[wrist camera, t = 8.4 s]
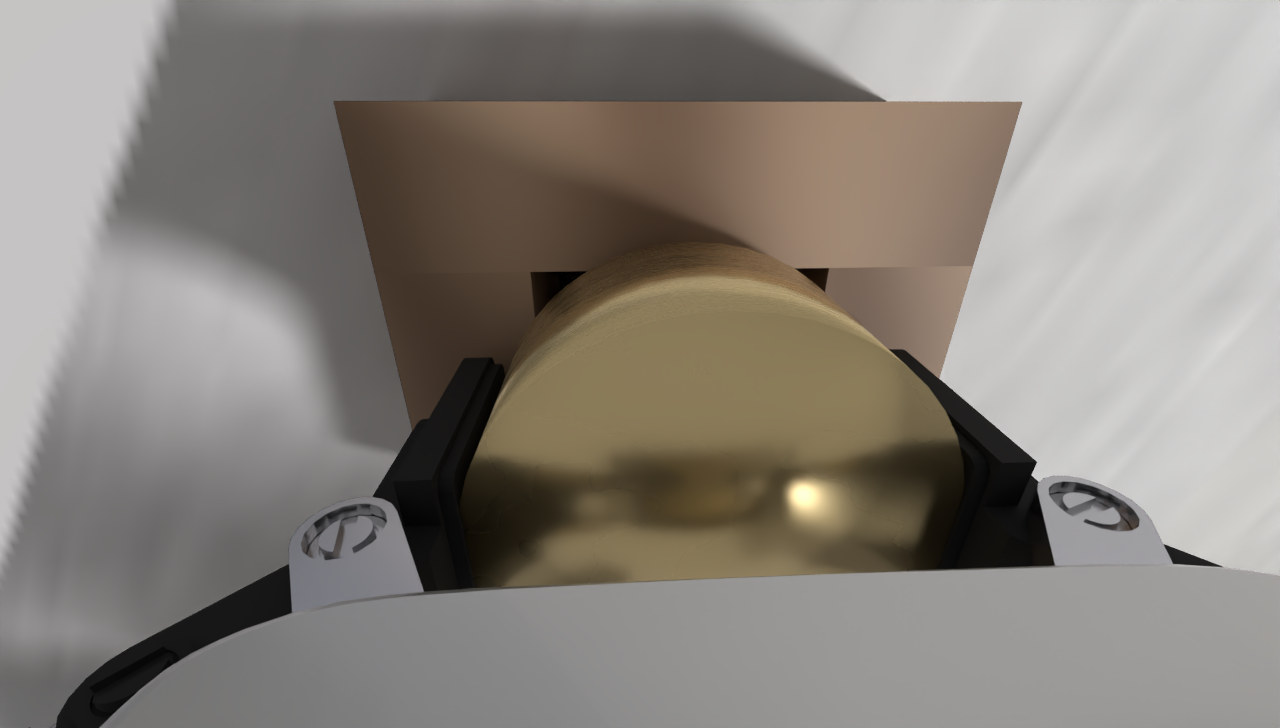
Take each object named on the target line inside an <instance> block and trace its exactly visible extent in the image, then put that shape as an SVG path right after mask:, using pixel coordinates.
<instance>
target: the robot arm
mask: <svg viewBox="0 0 1280 728" xmlns="http://www.w3.org/2000/svg"><path fill="white" fill-rule="evenodd" d="M889 350H890V351H891V352H892V353H893V354H894V355H895V356H896V357H898V358H899V359H900V360H901V361H902V362H903V363H904V364H905V365H907V366H908V367H909V368H910V369H911V370H912V371H913V372H914V373H915V374H916V375H917V376H918V377H919V378H920V379H921V380H922V381H923V382H924V383H925V384H926V385H927V386H928V387H929V388H930V390H931V391H932V393H933V394H934V395H935V397H936V398H937V400H938V401H939V402H940V404H941V405H942V407H943V408H944V409H945V411H946V413H947V415H948V417H949V419H950V422H951V424H952V426H953V428H954V430H955V433H956V435H957V438H958V442H959V446H960V450H961V454H962V458H963V463H964V479H965V491H964V497H963V500H962V502H961V505H960V508H959V511H958V513H957V516H956V519H955V522H954V524H953V527H952V530H951V533H950V535H949V538H948V541H947V544H946V546H945V549H944V552H943V555H942V557H941V560H940V563H939V566H938V568H937V570H913V571H887V572H861V573H834V574H808V575H782V576H756V577H730V578H705V579H679V580H653V581H629V582H606V583H583V584H560V585H538V586H515V587H492V588H475V584H474V579H473V574H472V569H471V565H470V560H469V555H468V550H467V545H466V540H465V535H464V531H463V526H462V521H461V516H460V511H459V506H460V499H461V495H462V491H463V486H464V482H465V478H466V475H467V472H468V470H469V467H470V464H471V462H472V459H473V457H474V454H475V452H476V449H477V447H478V444H479V442H480V439H481V437H482V434H483V432H484V429H485V427H486V424H487V422H488V419H489V417H490V414H491V412H492V409H493V407H494V404H495V402H496V399H497V397H498V394H499V392H500V389H501V387H502V384H503V382H504V379H505V372H504V367H503V365H502V364H495V363H494V360H493V358H492V357H483V358H464V359H463V360H462V362H461V364H460V366H459V367H458V369H457V371H456V372H455V374H454V376H453V378H452V379H451V381H450V383H449V385H448V386H447V388H446V390H445V391H444V393H443V395H442V397H441V398H440V400H439V402H438V403H437V405H436V407H435V409H434V410H433V412H432V414H431V415H430V417H429V419H421V420H420V421H419V422H418V423H417V424H416V426H415V428H414V429H413V431H412V433H411V434H410V436H409V438H408V439H407V441H406V442H405V444H404V446H403V447H402V449H401V451H400V452H399V454H398V456H397V457H396V459H395V461H394V462H393V464H392V465H391V467H390V469H389V470H388V472H387V474H386V475H385V477H384V479H383V480H382V482H381V484H380V485H379V487H378V489H377V490H376V492H375V493H374V495H373V497H360V498H353V499H349V500H345V501H341V502H338V503H336V504H333V505H331V506H329V507H326V508H324V509H322V510H321V511H319V512H318V513H316V514H314V515H313V516H311V517H310V518H309V519H307V520H306V521H305V522H304V523H303V524H302V525H301V526H300V527H299V528H298V529H297V531H296V532H295V534H294V535H293V537H292V538H291V540H290V545H289V550H288V553H289V564H288V565H286V566H284V567H282V568H280V569H278V570H277V571H275V572H273V573H271V574H269V575H267V576H265V577H263V578H261V579H259V580H258V581H256V582H254V583H252V584H250V585H248V586H246V587H244V588H242V589H240V590H239V591H237V592H235V593H233V594H231V595H229V596H227V597H225V598H223V599H221V600H220V601H218V602H216V603H214V604H212V605H210V606H208V607H206V608H204V609H202V610H201V611H199V612H197V613H195V614H193V615H191V616H189V617H187V618H185V619H183V620H182V621H180V622H178V623H176V624H174V625H172V626H170V627H168V628H166V629H164V630H163V631H161V632H159V633H157V634H155V635H153V636H151V637H149V638H147V639H145V640H144V641H142V642H140V643H138V644H136V645H134V646H132V647H130V648H129V649H127V650H125V651H124V652H122V653H120V654H119V655H117V656H116V657H114V658H112V659H111V660H109V661H107V662H106V663H105V664H104V665H102V666H101V667H100V668H99V669H97V670H96V671H95V672H94V673H93V674H91V675H90V676H89V677H88V678H86V679H85V680H84V682H83V683H82V684H81V685H80V686H79V687H78V688H77V689H76V690H75V691H74V692H73V694H72V695H71V696H70V697H69V698H68V700H67V702H66V703H65V705H64V707H63V708H62V710H61V712H60V713H59V715H58V718H57V723H56V724H54V725H53V726H51V727H50V728H1280V576H1279V575H1274V574H1268V573H1261V572H1254V571H1247V570H1240V569H1233V568H1226V567H1222V566H1219V565H1217V564H1214V563H1212V562H1209V561H1206V560H1204V559H1201V558H1199V557H1196V556H1193V555H1191V554H1188V553H1185V552H1183V551H1180V550H1178V549H1175V548H1172V547H1170V546H1167V545H1165V544H1163V542H1162V540H1161V538H1160V536H1159V534H1158V532H1157V530H1156V528H1155V526H1154V524H1153V522H1152V520H1151V519H1150V518H1149V516H1148V515H1147V514H1146V512H1145V511H1144V510H1143V509H1142V508H1141V507H1139V506H1138V505H1137V504H1136V503H1135V502H1133V501H1132V500H1130V499H1129V498H1127V497H1125V496H1124V495H1122V494H1120V493H1119V492H1117V491H1115V490H1112V489H1110V488H1108V487H1106V486H1103V485H1101V484H1098V483H1095V482H1092V481H1089V480H1086V479H1082V478H1076V477H1071V476H1051V477H1047V478H1043V479H1042V480H1041V481H1040V482H1038V481H1037V480H1036V479H1035V478H1034V477H1033V476H1031V474H1032V472H1033V470H1034V468H1035V465H1036V463H1037V462H1036V461H1035V460H1034V459H1033V458H1032V457H1030V456H1029V455H1028V454H1027V453H1026V452H1025V451H1023V450H1022V449H1021V448H1020V447H1019V446H1017V445H1016V444H1015V443H1014V442H1013V441H1012V440H1010V439H1009V438H1008V437H1007V436H1006V435H1005V434H1003V433H1002V432H1001V431H1000V430H999V429H997V428H996V427H995V426H994V425H993V424H992V423H990V422H989V421H988V420H987V419H986V418H985V417H983V416H982V415H981V414H980V413H979V412H978V411H976V410H975V409H974V408H973V407H972V406H970V405H969V404H968V403H967V402H966V401H965V400H963V399H962V398H961V397H960V396H959V395H958V394H956V393H955V392H954V391H953V390H952V389H950V388H949V387H948V386H947V385H946V384H945V383H943V382H942V381H941V380H940V379H939V378H938V377H936V376H935V375H934V374H933V373H932V372H930V371H929V370H928V369H927V368H926V367H925V366H923V365H922V364H921V363H920V362H919V361H918V360H916V359H915V358H914V357H913V356H912V355H910V354H909V353H908V352H907V351H905V350H904V349H889ZM29 728H30V727H29Z"/></svg>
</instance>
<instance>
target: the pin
mask: <svg viewBox="0 0 1280 728" xmlns="http://www.w3.org/2000/svg"><path fill="white" fill-rule="evenodd" d="M964 491H965V479H964V463H963V458H962V454H961V450H960V446H959V442H958V438H957V435H956V433H955V430H954V428H953V426H952V424H951V422H950V419H949V417H948V415H947V413H946V411H945V409H944V408H943V407H942V405H941V404H940V402H939V401H938V400H937V398H936V397H935V395H934V394H933V393H932V391H931V390H930V388H929V387H928V386H927V385H926V384H925V383H924V382H923V381H922V380H921V379H920V378H919V377H918V376H917V375H916V374H915V373H914V372H913V371H912V370H911V369H910V368H909V367H908V366H907V365H905V364H904V363H903V362H902V361H901V360H900V359H899V358H898V357H896V356H895V355H894V354H893V353H892V352H891V351H890V350H889V349H888V348H886V347H885V346H884V345H883V344H882V343H881V342H880V341H879V340H877V339H876V338H875V337H874V336H873V335H872V334H871V333H870V332H869V331H867V330H866V329H865V328H864V327H863V326H862V325H861V324H860V323H859V322H857V321H856V320H855V319H854V318H853V317H852V316H851V315H850V314H848V313H847V312H846V311H845V310H844V309H843V308H842V307H841V306H840V305H838V304H837V303H836V302H835V301H834V300H833V299H832V298H831V297H829V296H828V295H827V294H826V293H825V292H824V291H823V290H822V289H821V288H819V287H818V286H817V285H816V284H815V283H814V282H813V281H811V280H810V279H808V278H807V277H806V276H804V275H803V274H801V273H800V272H799V271H797V270H796V269H794V268H793V267H791V266H789V265H787V264H785V263H783V262H781V261H779V260H777V259H775V258H773V257H771V256H768V255H765V254H762V253H759V252H757V251H754V250H751V249H748V248H743V247H738V246H733V245H728V244H722V243H709V242H682V243H669V244H662V245H657V246H652V247H648V248H643V249H638V250H635V251H633V252H630V253H627V254H624V255H621V256H618V257H615V258H613V259H611V260H609V261H607V262H605V263H603V264H601V265H599V266H597V267H595V268H593V269H591V270H589V271H587V272H586V273H584V274H583V275H581V276H580V277H579V278H577V279H576V280H574V281H573V282H571V283H570V284H568V285H567V286H566V287H565V288H564V289H562V290H561V291H560V292H559V293H558V294H557V295H556V296H555V297H554V298H552V299H551V300H550V301H549V302H548V303H547V304H546V306H545V307H544V308H543V309H542V310H541V312H540V313H539V314H538V315H537V316H536V318H535V319H534V320H533V321H532V323H531V324H530V326H529V328H528V329H527V331H526V333H525V334H524V336H523V337H522V339H521V341H520V343H519V345H518V347H517V350H516V352H515V355H514V357H513V359H512V362H511V364H510V367H509V369H508V372H507V374H506V377H505V379H504V382H503V384H502V387H501V389H500V392H499V394H498V397H497V399H496V402H495V404H494V407H493V409H492V412H491V414H490V417H489V419H488V422H487V424H486V427H485V429H484V432H483V434H482V437H481V439H480V442H479V444H478V447H477V449H476V452H475V454H474V457H473V459H472V462H471V464H470V467H469V470H468V472H467V475H466V478H465V482H464V486H463V491H462V495H461V499H460V506H459V511H460V516H461V521H462V526H463V531H464V535H465V540H466V545H467V550H468V555H469V560H470V565H471V569H472V574H473V579H474V584H475V588H492V587H515V586H538V585H560V584H583V583H606V582H629V581H653V580H679V579H705V578H730V577H756V576H782V575H808V574H834V573H861V572H887V571H913V570H937V568H938V566H939V563H940V560H941V557H942V555H943V552H944V549H945V546H946V544H947V541H948V538H949V535H950V533H951V530H952V527H953V524H954V522H955V519H956V516H957V513H958V511H959V508H960V505H961V502H962V500H963V497H964Z"/></svg>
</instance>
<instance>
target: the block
mask: <svg viewBox="0 0 1280 728" xmlns="http://www.w3.org/2000/svg"><path fill="white" fill-rule="evenodd" d="M334 105H335V109H336V114H337V118H338V122H339V126H340V130H341V134H342V139H343V143H344V147H345V151H346V155H347V159H348V164H349V168H350V172H351V176H352V180H353V185H354V189H355V193H356V197H357V201H358V205H359V210H360V214H361V218H362V222H363V226H364V230H365V235H366V239H367V243H368V247H369V251H370V256H371V260H372V264H373V268H374V272H375V276H376V281H377V285H378V289H379V293H380V297H381V301H382V306H383V310H384V314H385V318H386V322H387V326H388V331H389V335H390V339H391V343H392V347H393V352H394V356H395V360H396V364H397V368H398V372H399V377H400V381H401V385H402V389H403V393H404V397H405V402H406V406H407V410H408V414H409V418H410V423H411V427H412V431H413V429H414V428H415V426H416V424H417V423H418V422H419V421H420V420H421V419H429V417H430V415H431V414H432V412H433V410H434V409H435V407H436V405H437V403H438V402H439V400H440V398H441V397H442V395H443V393H444V391H445V390H446V388H447V386H448V385H449V383H450V381H451V379H452V378H453V376H454V374H455V372H456V371H457V369H458V367H459V366H460V364H461V362H462V360H463V359H464V358H483V357H492V358H493V360H494V363H495V364H502V365H503V367H504V372H505V377H506V374H507V372H508V369H509V367H510V364H511V362H512V359H513V357H514V355H515V352H516V350H517V347H518V345H519V343H520V341H521V339H522V337H523V336H524V334H525V333H526V331H527V329H528V328H529V326H530V324H531V323H532V321H533V320H534V319H535V318H536V316H537V315H538V314H539V313H540V312H541V310H542V309H543V308H544V307H545V306H546V304H547V303H548V302H549V301H550V300H551V299H552V298H554V297H555V296H556V295H557V294H558V293H559V292H560V282H559V272H567V271H589V270H591V269H593V268H595V267H597V266H599V265H601V264H603V263H605V262H607V261H609V260H611V259H613V258H615V257H618V256H621V255H624V254H627V253H630V252H633V251H635V250H638V249H643V248H648V247H652V246H657V245H662V244H669V243H682V242H709V243H722V244H728V245H733V246H738V247H743V248H748V249H751V250H754V251H757V252H759V253H762V254H765V255H768V256H771V257H773V258H775V259H777V260H779V261H781V262H783V263H785V264H787V265H789V266H791V267H793V268H794V269H796V270H797V271H799V272H800V273H801V274H803V275H804V276H806V277H807V278H808V279H810V280H811V281H813V282H814V283H815V284H816V285H817V286H818V287H819V288H821V289H822V290H823V291H824V292H825V293H826V294H827V295H828V296H829V297H831V298H832V299H833V300H834V301H835V302H836V303H837V304H838V305H840V306H841V307H842V308H843V309H844V310H845V311H846V312H847V313H848V314H850V315H851V316H852V317H853V318H854V319H855V320H856V321H857V322H859V323H860V324H861V325H862V326H863V327H864V328H865V329H866V330H867V331H869V332H870V333H871V334H872V335H873V336H874V337H875V338H876V339H877V340H879V341H880V342H881V343H882V344H883V345H884V346H885V347H886V348H888V349H904V350H905V351H907V352H908V353H909V354H910V355H912V356H913V357H914V358H915V359H916V360H918V361H919V362H920V363H921V364H922V365H923V366H925V367H926V368H927V369H928V370H929V371H930V372H932V373H933V374H934V375H935V376H936V377H938V378H939V377H940V374H941V371H942V367H943V364H944V361H945V357H946V354H947V351H948V347H949V344H950V341H951V337H952V334H953V331H954V327H955V324H956V321H957V317H958V314H959V311H960V307H961V304H962V301H963V297H964V294H965V291H966V288H967V284H968V281H969V278H970V274H971V271H972V268H973V264H974V261H975V258H976V254H977V251H978V248H979V244H980V241H981V238H982V234H983V231H984V228H985V224H986V221H987V218H988V214H989V211H990V208H991V204H992V201H993V198H994V195H995V191H996V188H997V185H998V181H999V178H1000V175H1001V171H1002V168H1003V165H1004V161H1005V158H1006V155H1007V151H1008V148H1009V145H1010V141H1011V138H1012V135H1013V131H1014V128H1015V125H1016V121H1017V118H1018V115H1019V111H1020V108H1021V105H1022V102H790V101H334Z"/></svg>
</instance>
